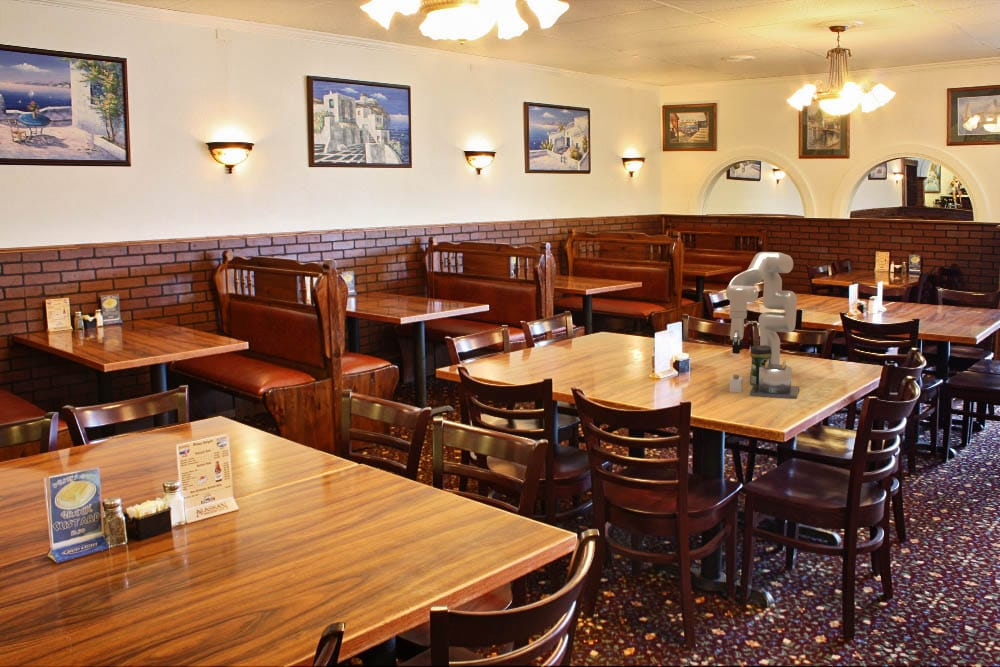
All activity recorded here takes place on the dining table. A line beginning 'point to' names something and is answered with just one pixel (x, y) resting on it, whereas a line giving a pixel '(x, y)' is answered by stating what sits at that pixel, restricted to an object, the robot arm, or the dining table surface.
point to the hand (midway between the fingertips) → (737, 351)
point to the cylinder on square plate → (775, 382)
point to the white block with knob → (736, 384)
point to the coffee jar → (759, 361)
